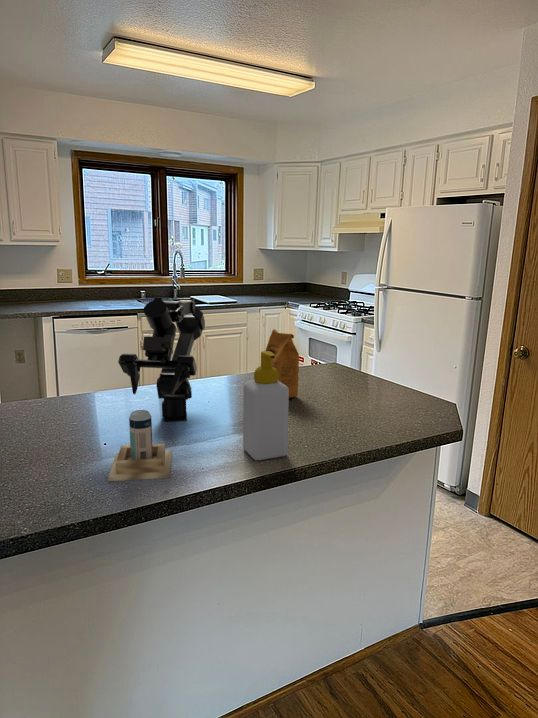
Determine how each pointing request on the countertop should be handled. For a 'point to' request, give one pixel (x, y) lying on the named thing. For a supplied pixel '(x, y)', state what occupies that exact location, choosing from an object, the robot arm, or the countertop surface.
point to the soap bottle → (265, 412)
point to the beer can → (141, 435)
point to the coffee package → (285, 360)
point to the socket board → (141, 465)
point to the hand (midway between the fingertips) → (152, 394)
